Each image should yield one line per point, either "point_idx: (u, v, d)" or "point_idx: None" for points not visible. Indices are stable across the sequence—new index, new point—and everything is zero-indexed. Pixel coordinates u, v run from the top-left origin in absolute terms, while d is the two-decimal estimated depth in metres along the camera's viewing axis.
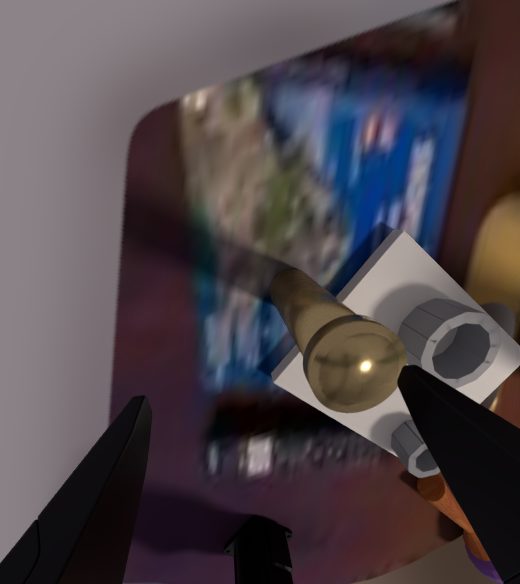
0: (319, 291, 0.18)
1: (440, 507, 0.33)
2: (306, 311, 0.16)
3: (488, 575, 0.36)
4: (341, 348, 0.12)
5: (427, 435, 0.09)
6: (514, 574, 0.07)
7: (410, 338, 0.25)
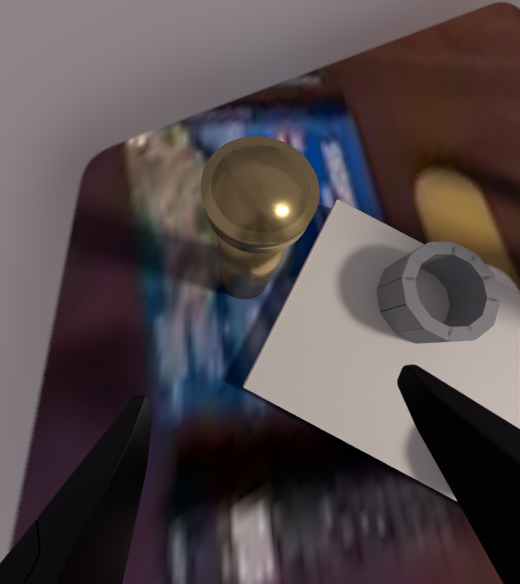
0: None
1: None
2: None
3: None
4: (231, 161, 0.11)
5: (427, 435, 0.09)
6: (514, 574, 0.07)
7: (389, 294, 0.21)
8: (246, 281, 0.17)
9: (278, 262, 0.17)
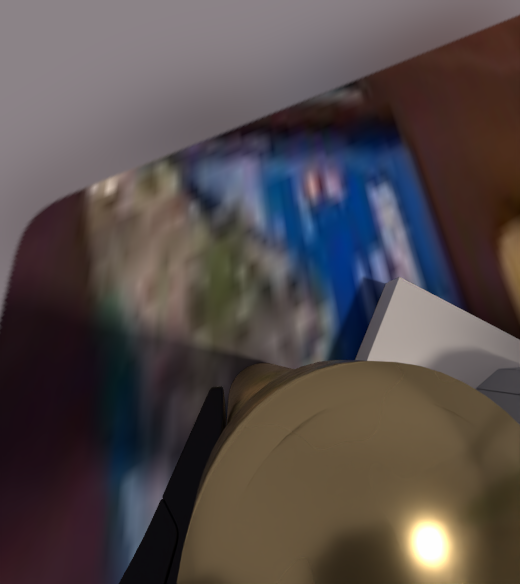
0: (279, 369, 0.09)
1: None
2: (240, 407, 0.07)
3: None
4: (287, 484, 0.03)
5: None
6: None
7: None
8: None
9: None
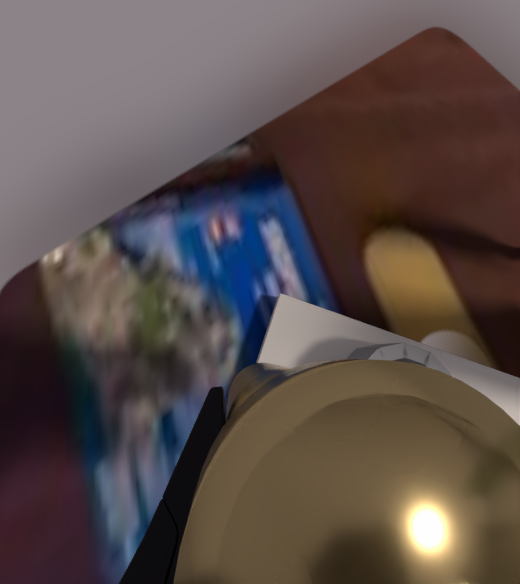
0: (278, 368, 0.09)
1: None
2: (239, 406, 0.07)
3: None
4: (284, 482, 0.03)
5: None
6: None
7: None
8: None
9: None
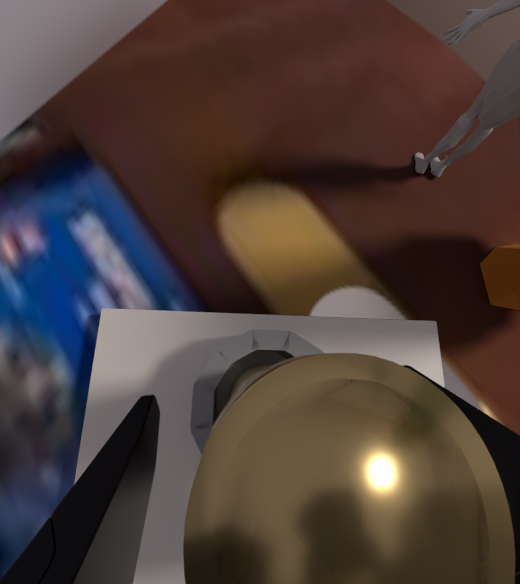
0: None
1: None
2: None
3: None
4: (269, 445, 0.04)
5: None
6: None
7: None
8: None
9: None
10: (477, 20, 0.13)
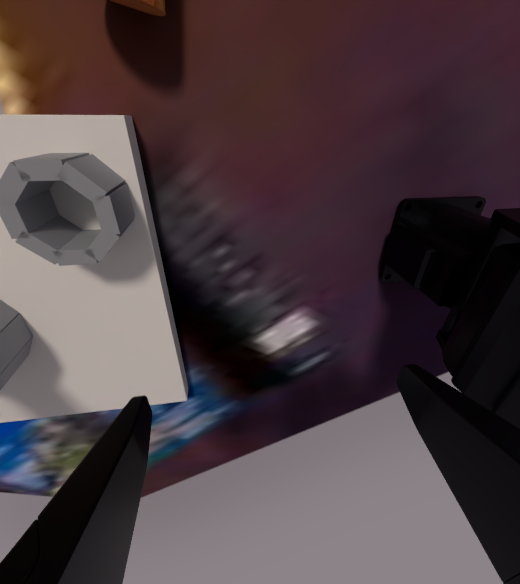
0: None
1: None
2: None
3: None
4: None
5: (427, 435, 0.09)
6: (514, 574, 0.07)
7: None
8: None
9: None
10: None
